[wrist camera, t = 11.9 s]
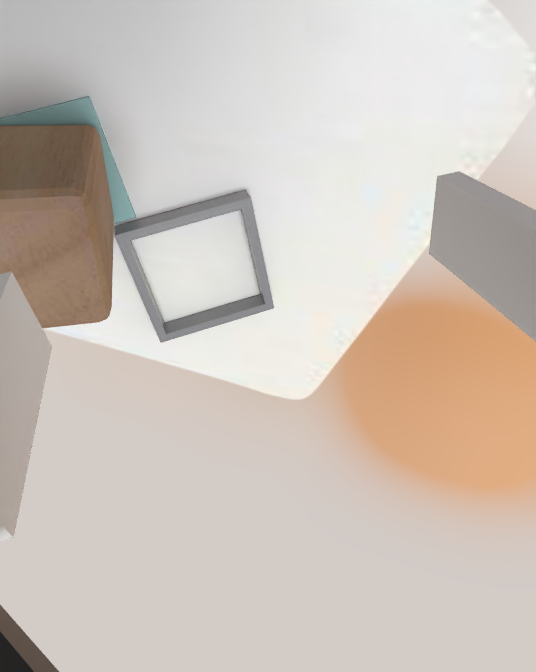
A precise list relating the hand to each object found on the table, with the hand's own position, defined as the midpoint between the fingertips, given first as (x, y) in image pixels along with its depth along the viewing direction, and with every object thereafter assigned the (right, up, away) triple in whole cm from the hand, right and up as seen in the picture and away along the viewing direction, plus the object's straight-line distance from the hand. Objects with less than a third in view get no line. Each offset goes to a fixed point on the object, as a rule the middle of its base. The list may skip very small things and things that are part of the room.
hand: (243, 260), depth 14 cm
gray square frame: (-8, +6, +41) cm, 42 cm away
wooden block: (-20, +14, +31) cm, 40 cm away
